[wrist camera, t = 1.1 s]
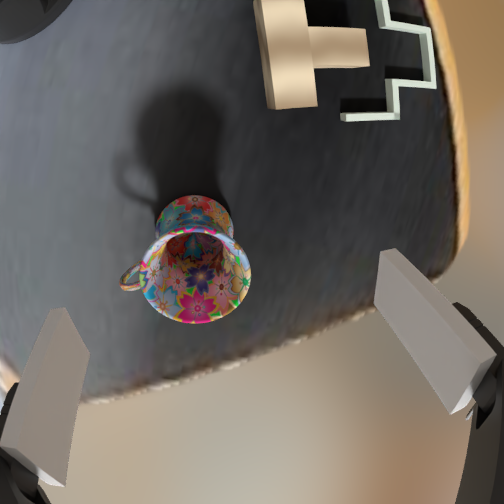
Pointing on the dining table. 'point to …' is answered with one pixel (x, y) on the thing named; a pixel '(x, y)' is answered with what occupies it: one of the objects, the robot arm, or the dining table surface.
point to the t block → (301, 51)
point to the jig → (393, 84)
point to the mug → (192, 263)
